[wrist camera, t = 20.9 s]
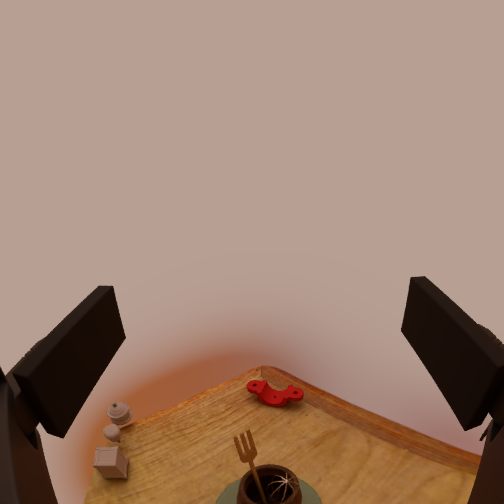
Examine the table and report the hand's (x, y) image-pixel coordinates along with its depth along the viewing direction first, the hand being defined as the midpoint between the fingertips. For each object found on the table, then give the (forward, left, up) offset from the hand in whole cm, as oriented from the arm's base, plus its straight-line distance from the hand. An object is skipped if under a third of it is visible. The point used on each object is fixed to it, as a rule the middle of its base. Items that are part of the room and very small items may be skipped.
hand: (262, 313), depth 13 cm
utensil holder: (-1, +1, -25) cm, 25 cm away
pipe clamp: (-15, +14, -23) cm, 31 cm away
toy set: (-20, -8, -22) cm, 31 cm away
